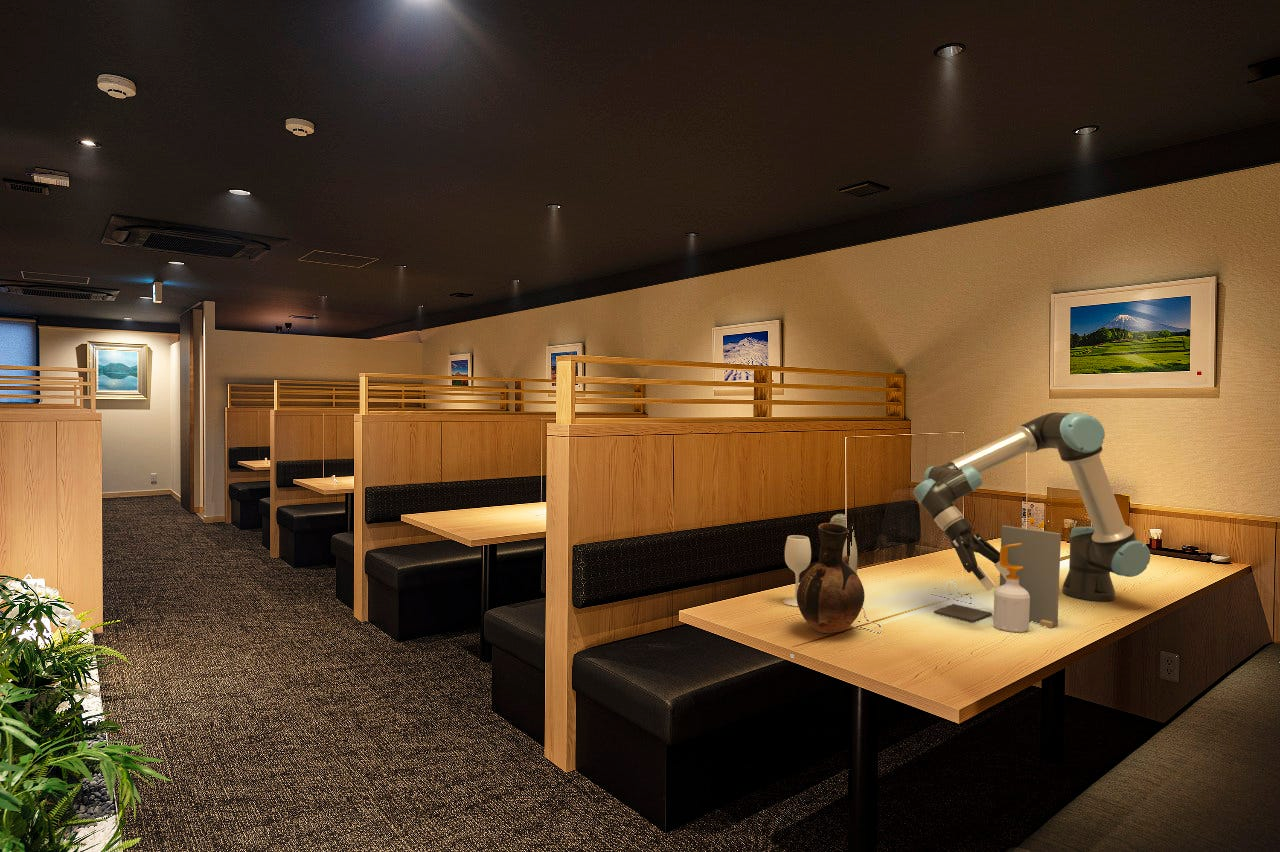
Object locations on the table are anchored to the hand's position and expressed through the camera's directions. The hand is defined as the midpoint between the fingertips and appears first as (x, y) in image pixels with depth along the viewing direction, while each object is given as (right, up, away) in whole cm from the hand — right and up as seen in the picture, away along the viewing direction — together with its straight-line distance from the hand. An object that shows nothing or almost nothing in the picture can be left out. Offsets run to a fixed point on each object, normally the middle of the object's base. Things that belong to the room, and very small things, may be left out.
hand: (1002, 584), depth 213 cm
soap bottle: (+2, -12, -1) cm, 13 cm away
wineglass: (-54, -11, +22) cm, 60 cm away
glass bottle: (-40, -11, +25) cm, 49 cm away
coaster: (-6, -12, +12) cm, 18 cm away
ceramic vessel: (-51, -12, -5) cm, 53 cm away
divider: (+10, -12, +7) cm, 17 cm away
